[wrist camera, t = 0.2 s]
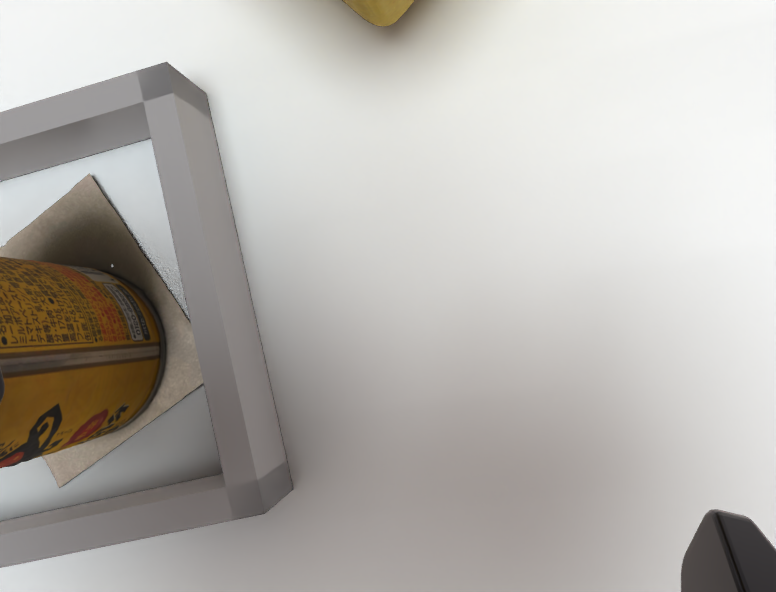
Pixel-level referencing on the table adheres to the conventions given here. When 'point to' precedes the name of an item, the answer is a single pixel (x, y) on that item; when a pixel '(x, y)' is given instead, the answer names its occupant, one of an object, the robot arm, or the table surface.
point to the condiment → (85, 337)
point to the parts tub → (203, 297)
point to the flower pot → (380, 10)
